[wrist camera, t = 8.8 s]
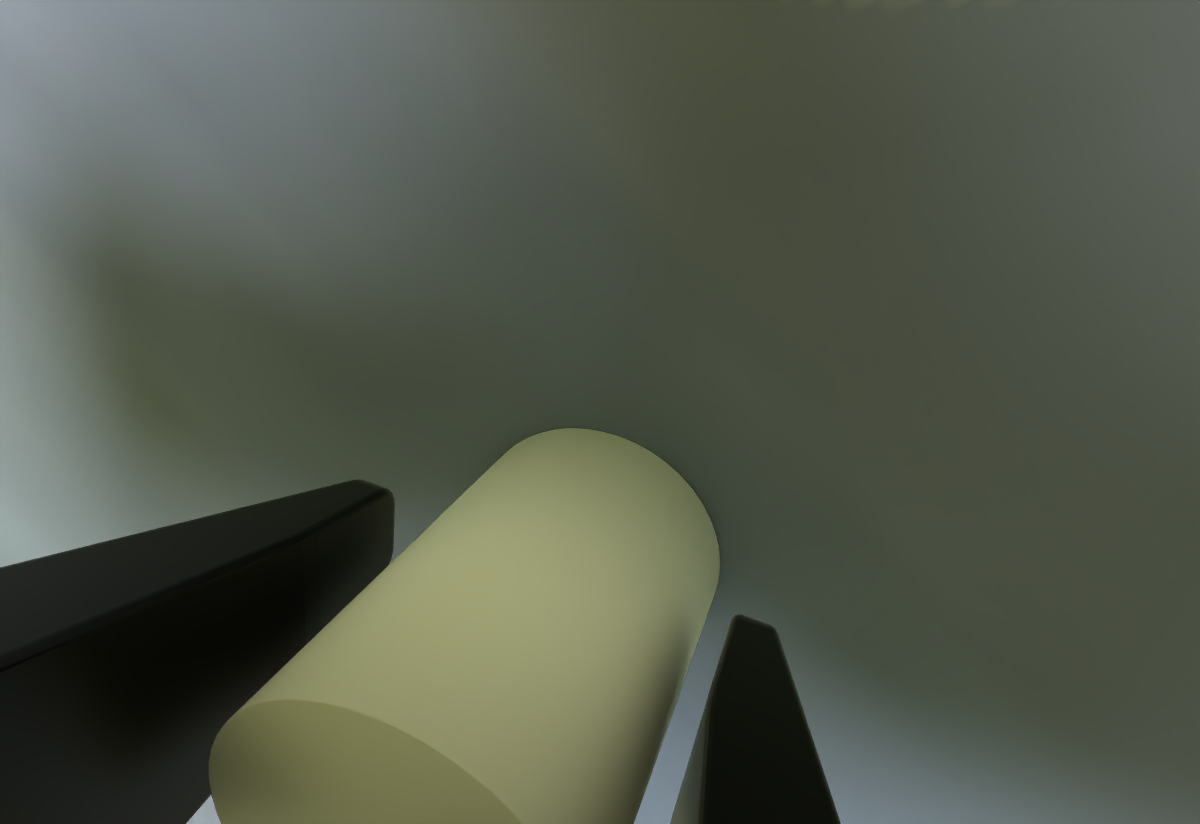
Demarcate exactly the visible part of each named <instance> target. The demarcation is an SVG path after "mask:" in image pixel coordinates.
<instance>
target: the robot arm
mask: <svg viewBox="0 0 1200 824" xmlns="http://www.w3.org/2000/svg"><path fill="white" fill-rule="evenodd" d="M394 509H395V503H394V497H393V494H392V493H391V492H390V491H389V490H388V489H387V488H384V487H381V486H378V485H376V484H373V483H370V482H367V481H364V480H352V481H348V482H343V483H339V484H335V485H331V486H327V487H323V488H319V489H315V490H311V491H307V492H303V493H299V494H295V495H291V496H287V497H283V498H279V499H275V500H271V501H267V502H263V503H259V504H255V505H251V506H247V507H243V508H239V509H235V510H231V511H226V512H222V513H218V514H214V515H210V516H206V517H202V518H198V519H194V520H190V521H186V522H182V523H178V524H174V525H170V526H166V527H162V528H158V529H154V530H150V531H146V532H142V533H138V534H134V535H130V536H126V537H122V538H118V539H114V540H109V541H105V542H101V543H97V544H93V545H89V546H85V547H81V548H77V549H73V550H69V551H65V552H61V553H57V554H53V555H49V556H45V557H41V558H37V559H33V560H29V561H25V562H21V563H17V564H13V565H9V566H5V567H1V568H0V824H186V823H187V822H188V821H189V820H190V818H191V817H192V816H193V815H194V814H195V813H196V811H197V810H198V809H199V808H200V807H201V806H202V804H203V803H204V802H205V801H206V800H207V799H208V797H209V796H210V795H211V788H210V782H209V759H210V753H211V748H212V745H213V743H214V740H215V738H216V736H217V733H218V732H219V731H220V729H221V728H222V727H223V726H224V724H225V723H226V722H227V721H228V720H229V719H230V718H231V717H232V716H233V715H234V714H235V713H236V712H237V711H238V710H239V709H240V708H241V707H242V706H243V705H244V704H245V703H246V702H247V701H248V700H249V699H250V698H252V697H253V696H254V695H255V694H256V693H257V692H258V691H259V690H260V689H261V688H262V687H263V686H264V685H265V684H266V683H267V682H268V681H269V680H270V679H271V678H272V677H273V676H274V675H275V674H276V673H277V672H278V671H280V670H281V669H282V668H283V667H284V666H285V665H286V664H287V663H288V662H289V661H290V660H291V659H292V658H293V657H294V656H295V655H296V654H297V653H298V652H299V651H300V650H301V649H302V648H303V647H304V646H305V645H306V644H308V643H309V642H310V641H311V640H312V639H313V638H314V637H315V636H316V635H317V634H318V633H319V632H320V631H321V630H322V629H323V628H324V627H325V626H326V625H327V624H328V623H329V622H330V621H331V620H332V619H333V618H334V617H336V616H337V615H338V614H339V613H340V612H341V611H342V610H343V609H344V608H345V607H346V606H347V605H348V604H349V603H350V602H351V601H352V600H353V599H354V598H355V597H356V596H357V595H358V594H359V593H360V592H361V591H363V590H364V589H365V588H366V587H367V586H368V585H369V584H370V583H371V582H372V581H373V580H374V579H375V578H376V577H377V576H378V575H379V574H380V573H381V572H382V571H383V570H384V569H385V568H386V567H387V566H388V565H389V564H390V561H391V558H392V554H393V544H394ZM670 824H841V823H840V820H839V817H838V814H837V811H836V808H835V805H834V802H833V799H832V796H831V793H830V790H829V786H828V783H827V780H826V777H825V774H824V771H823V768H822V765H821V762H820V759H819V756H818V753H817V750H816V747H815V744H814V741H813V738H812V735H811V732H810V729H809V726H808V723H807V720H806V717H805V714H804V711H803V708H802V705H801V702H800V699H799V696H798V693H797V690H796V687H795V684H794V681H793V678H792V675H791V672H790V669H789V666H788V663H787V660H786V657H785V654H784V651H783V648H782V645H781V642H780V639H779V636H778V634H777V631H776V630H775V628H774V627H773V626H771V625H769V624H766V623H763V622H760V621H757V620H755V619H752V618H749V617H746V616H743V615H735V616H734V617H733V618H732V620H731V624H730V627H729V630H728V633H727V637H726V640H725V643H724V646H723V650H722V653H721V656H720V659H719V663H718V666H717V669H716V672H715V676H714V679H713V682H712V685H711V689H710V692H709V695H708V699H707V702H706V705H705V709H704V712H703V715H702V719H701V722H700V725H699V729H698V732H697V735H696V738H695V742H694V745H693V748H692V752H691V755H690V758H689V762H688V765H687V768H686V772H685V775H684V778H683V782H682V785H681V788H680V792H679V795H678V798H677V802H676V805H675V808H674V812H673V815H672V819H671V822H670Z"/></svg>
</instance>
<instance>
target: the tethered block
mask: <svg viewBox="0 0 1200 824" xmlns="http://www.w3.org/2000/svg"><path fill="white" fill-rule="evenodd" d="M719 572H720V554H719V546H718V541H717V537H716V533H715V530H714V527H713V525H712V522H711V519H710V517H709V515H708V513H707V511H706V509H705V508H704V506H703V504H702V502H701V501H700V499H699V498H698V496H697V495H696V493H695V492H694V491H693V489H692V488H691V487H690V486H689V484H688V483H687V482H686V481H685V480H684V479H683V478H682V477H681V475H680V474H678V473H677V472H676V471H675V470H674V469H673V468H672V467H671V466H670V465H668V464H667V463H666V462H665V461H663V460H662V459H661V458H659V457H658V456H656V455H655V454H654V453H652V452H651V451H649V450H647V449H645V448H643V447H642V446H640V445H638V444H636V443H634V442H632V441H629V440H627V439H624V438H622V437H620V436H616V435H613V434H609V433H606V432H602V431H596V430H590V429H579V428H566V429H555V430H550V431H546V432H542V433H538V434H536V435H533V436H531V437H528V438H526V439H524V440H523V441H521V442H519V443H518V444H516V445H514V446H513V447H512V448H511V449H509V450H508V451H507V452H506V453H505V454H504V455H503V456H502V457H500V458H499V459H498V460H497V461H496V462H495V463H494V464H493V465H492V466H491V467H490V468H489V469H488V470H487V471H486V472H485V473H484V474H483V475H482V476H481V477H480V478H479V479H478V480H477V481H476V482H475V483H474V484H472V485H471V486H470V487H469V488H468V489H467V490H466V491H465V492H464V493H463V494H462V495H461V496H460V497H459V498H458V499H457V500H456V501H455V502H454V503H453V504H452V505H451V506H450V507H449V508H448V509H447V510H445V511H444V512H443V513H442V514H441V515H440V516H439V517H438V518H437V519H436V520H435V521H434V522H433V523H432V524H431V525H430V526H429V527H428V528H427V529H426V530H425V531H424V532H423V533H422V534H421V535H420V536H419V537H417V538H416V539H415V540H414V541H413V542H412V543H411V544H410V545H409V546H408V547H407V548H406V549H405V550H404V551H403V552H402V553H401V554H400V555H399V556H398V557H397V558H396V559H395V560H394V561H393V562H392V563H391V564H389V565H388V566H387V567H386V568H385V569H384V570H383V571H382V572H381V573H380V574H379V575H378V576H377V577H376V578H375V579H374V580H373V581H372V582H371V583H370V584H369V585H368V586H367V587H366V588H365V589H364V590H363V591H361V592H360V593H359V594H358V595H357V596H356V597H355V598H354V599H353V600H352V601H351V602H350V603H349V604H348V605H347V606H346V607H345V608H344V609H343V610H342V611H341V612H340V613H339V614H338V615H337V616H336V617H334V618H333V619H332V620H331V621H330V622H329V623H328V624H327V625H326V626H325V627H324V628H323V629H322V630H321V631H320V632H319V633H318V634H317V635H316V636H315V637H314V638H313V639H312V640H311V641H310V642H309V643H308V644H306V645H305V646H304V647H303V648H302V649H301V650H300V651H299V652H298V653H297V654H296V655H295V656H294V657H293V658H292V659H291V660H290V661H289V662H288V663H287V664H286V665H285V666H284V667H283V668H282V669H281V670H280V671H278V672H277V673H276V674H275V675H274V676H273V677H272V678H271V679H270V680H269V681H268V682H267V683H266V684H265V685H264V686H263V687H262V688H261V689H260V690H259V691H258V692H257V693H256V694H255V695H254V696H253V697H252V698H250V699H249V700H248V701H247V702H246V703H245V704H244V705H243V706H242V707H241V708H240V709H239V710H238V711H237V712H236V713H235V714H234V715H233V716H232V717H231V718H230V719H229V720H228V721H227V722H226V723H225V724H224V726H223V727H222V728H221V729H220V731H219V732H218V733H217V736H216V738H215V740H214V743H213V745H212V748H211V753H210V759H209V782H210V788H211V794H212V798H213V802H214V805H215V808H216V812H217V815H218V817H219V819H220V822H221V824H633V823H634V821H635V818H636V815H637V812H638V809H639V807H640V804H641V801H642V798H643V795H644V792H645V790H646V787H647V784H648V781H649V778H650V776H651V773H652V770H653V767H654V764H655V761H656V759H657V756H658V753H659V750H660V747H661V745H662V742H663V739H664V736H665V733H666V730H667V728H668V725H669V722H670V719H671V716H672V713H673V711H674V708H675V705H676V702H677V699H678V697H679V694H680V691H681V688H682V685H683V682H684V680H685V677H686V674H687V671H688V668H689V666H690V663H691V660H692V657H693V654H694V651H695V649H696V646H697V643H698V640H699V637H700V635H701V632H702V629H703V626H704V623H705V620H706V618H707V615H708V612H709V609H710V606H711V604H712V601H713V598H714V595H715V592H716V588H717V584H718V580H719Z"/></svg>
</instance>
